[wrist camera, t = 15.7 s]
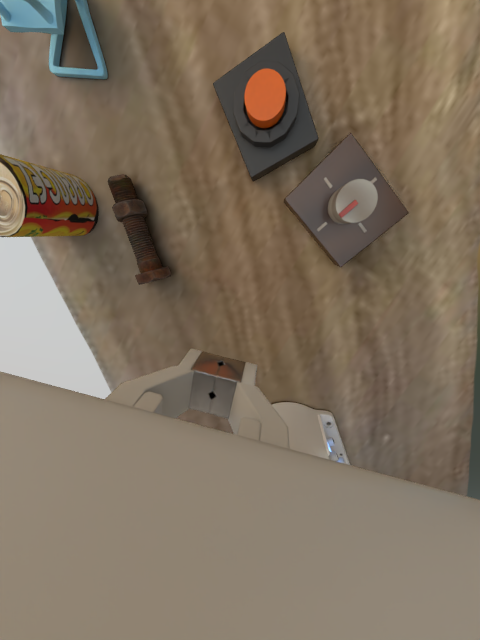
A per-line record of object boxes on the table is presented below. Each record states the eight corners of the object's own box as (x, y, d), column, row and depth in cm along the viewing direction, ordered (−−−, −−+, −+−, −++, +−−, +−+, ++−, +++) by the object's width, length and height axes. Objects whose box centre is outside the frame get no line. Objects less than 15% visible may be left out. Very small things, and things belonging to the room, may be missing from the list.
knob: (350, 177, 29) (363, 168, 25) (371, 206, 30) (387, 201, 25) (320, 205, 31) (327, 200, 26) (341, 231, 31) (351, 231, 27)
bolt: (137, 182, 37) (169, 276, 41) (103, 187, 36) (139, 284, 40) (135, 166, 32) (172, 276, 36) (95, 172, 30) (138, 285, 34)
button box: (315, 146, 31) (321, 132, 27) (252, 181, 33) (249, 174, 29) (283, 48, 28) (284, 16, 24) (217, 95, 31) (208, 73, 26)
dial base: (397, 214, 32) (409, 212, 29) (335, 264, 36) (340, 267, 33) (344, 141, 30) (351, 131, 27) (283, 201, 34) (284, 198, 31)
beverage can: (89, 246, 40) (17, 251, 29) (41, 216, 39) (-52, 209, 28) (105, 195, 37) (32, 179, 26) (53, 161, 36) (-45, 129, 25)
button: (291, 114, 27) (292, 105, 25) (255, 136, 28) (254, 129, 26) (276, 70, 26) (276, 57, 24) (240, 95, 27) (237, 85, 25)
